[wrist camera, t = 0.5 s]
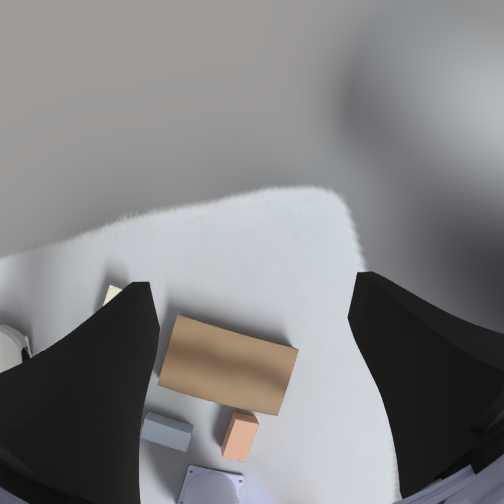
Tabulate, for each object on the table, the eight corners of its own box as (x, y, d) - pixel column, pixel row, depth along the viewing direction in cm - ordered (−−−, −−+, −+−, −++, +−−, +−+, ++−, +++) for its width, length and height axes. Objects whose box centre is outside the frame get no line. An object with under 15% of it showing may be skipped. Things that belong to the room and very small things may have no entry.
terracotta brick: (242, 451, 31) (245, 461, 28) (221, 447, 31) (222, 457, 28) (255, 416, 33) (259, 424, 30) (233, 411, 32) (235, 419, 30)
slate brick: (192, 424, 31) (192, 433, 28) (187, 442, 31) (186, 452, 28) (149, 410, 31) (144, 418, 28) (144, 428, 30) (140, 437, 27)
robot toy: (54, 423, 28) (40, 328, 30) (41, 434, 24) (23, 332, 25) (0, 403, 26) (-12, 317, 28) (-14, 411, 22) (-29, 319, 24)
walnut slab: (273, 409, 33) (277, 415, 31) (160, 379, 32) (157, 384, 29) (292, 347, 35) (298, 349, 33) (179, 314, 34) (177, 314, 31)
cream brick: (123, 338, 32) (116, 341, 29) (103, 329, 32) (95, 331, 29) (137, 295, 34) (131, 294, 31) (117, 287, 33) (109, 284, 30)
